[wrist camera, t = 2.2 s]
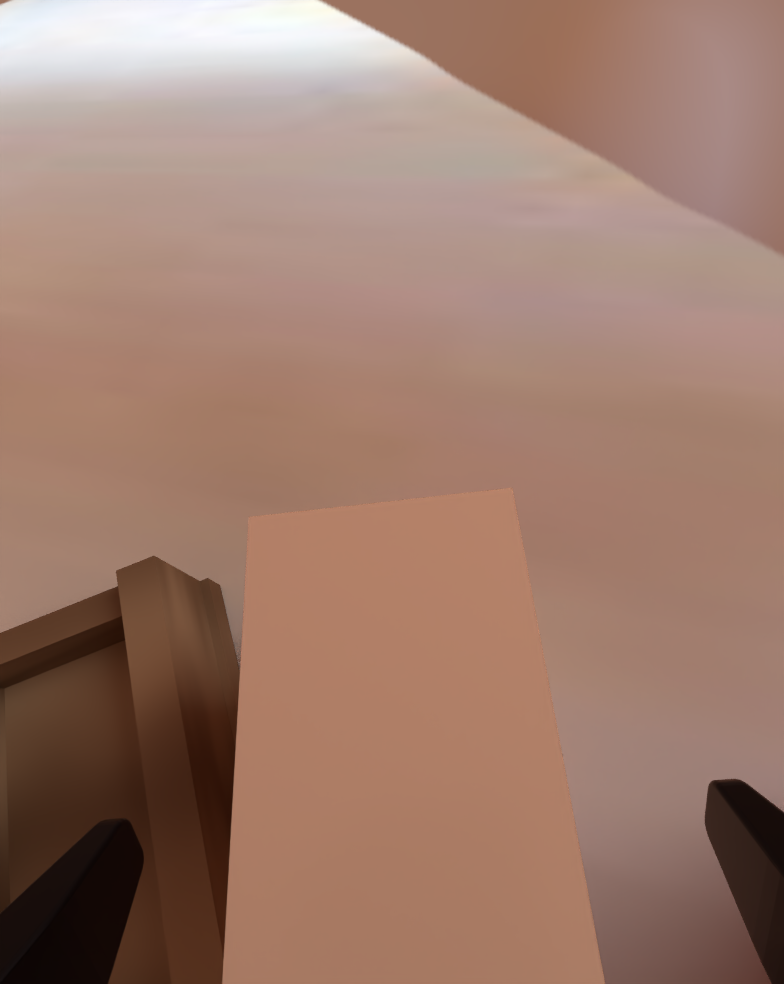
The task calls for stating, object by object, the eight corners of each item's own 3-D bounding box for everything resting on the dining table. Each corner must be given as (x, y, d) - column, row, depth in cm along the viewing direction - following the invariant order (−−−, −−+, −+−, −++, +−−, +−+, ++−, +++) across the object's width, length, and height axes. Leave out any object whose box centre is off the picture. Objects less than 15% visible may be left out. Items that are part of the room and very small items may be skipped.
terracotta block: (526, 901, 14) (649, 1220, 5) (365, 908, 14) (208, 1219, 5) (484, 611, 17) (512, 487, 8) (355, 622, 18) (248, 516, 9)
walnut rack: (323, 1036, 13) (272, 1151, 10) (-9, 1186, 13) (-191, 1365, 9) (219, 585, 19) (163, 552, 15) (-14, 678, 18) (-129, 667, 15)
